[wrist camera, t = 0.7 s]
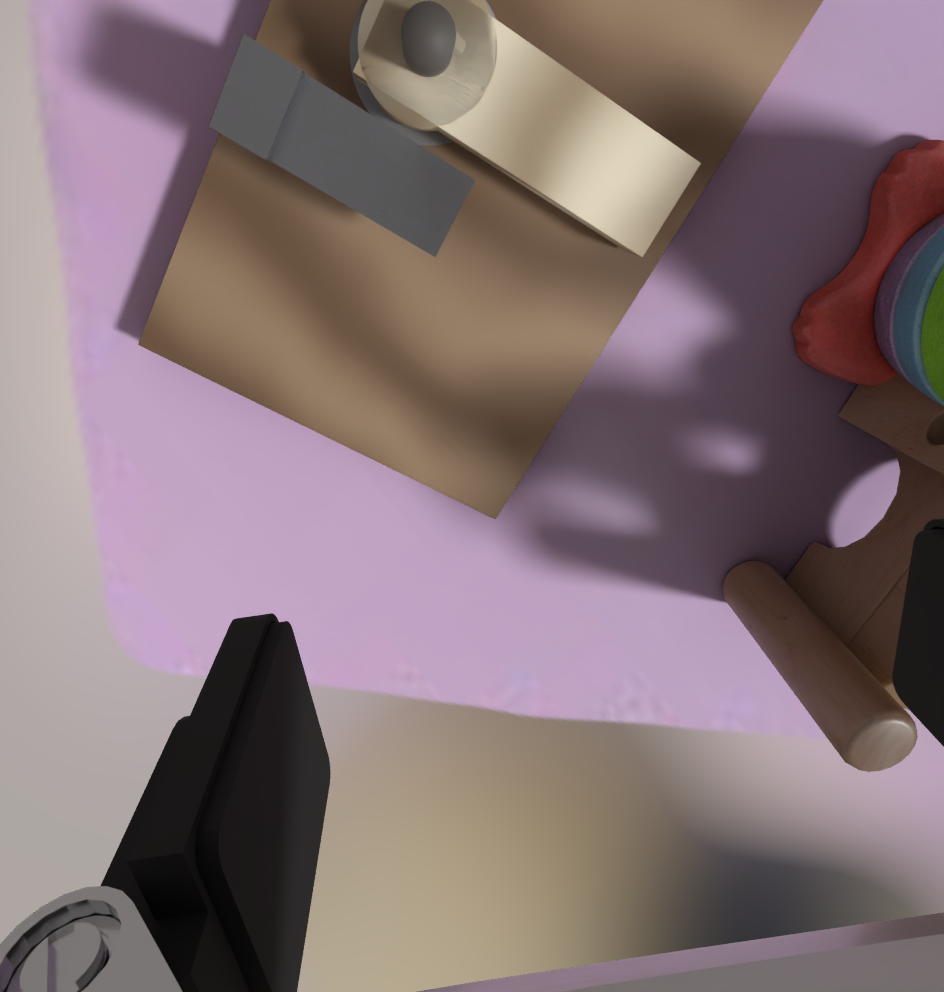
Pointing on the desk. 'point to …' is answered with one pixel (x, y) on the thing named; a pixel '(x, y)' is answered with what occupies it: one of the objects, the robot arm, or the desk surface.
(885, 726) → the wooden toy
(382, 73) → the link
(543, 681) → the desk surface
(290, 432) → the desk surface
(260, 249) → the base board
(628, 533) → the desk surface
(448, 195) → the keeper
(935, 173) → the stacking bear
